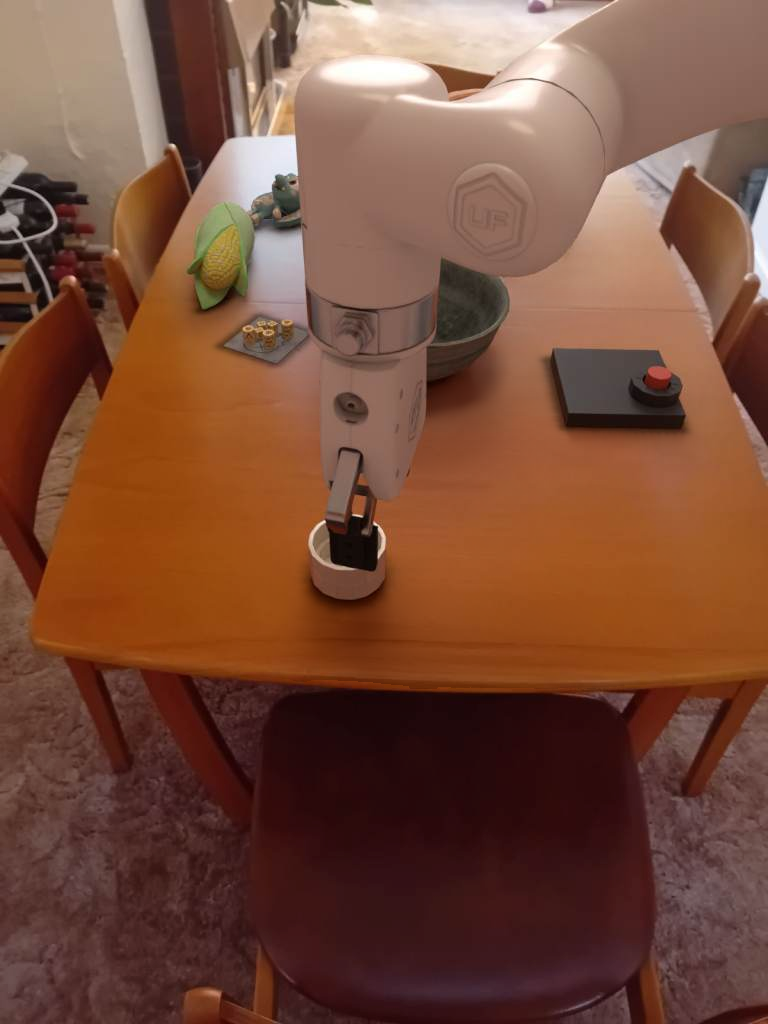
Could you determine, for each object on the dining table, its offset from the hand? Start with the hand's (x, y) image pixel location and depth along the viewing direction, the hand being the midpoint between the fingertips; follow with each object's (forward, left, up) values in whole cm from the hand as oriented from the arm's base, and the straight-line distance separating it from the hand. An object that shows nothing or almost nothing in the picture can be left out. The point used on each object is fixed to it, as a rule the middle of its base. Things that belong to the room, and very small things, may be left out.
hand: (372, 516), depth 57 cm
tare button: (-41, -21, -11) cm, 47 cm away
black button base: (-38, -24, -15) cm, 48 cm away
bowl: (-18, -37, -15) cm, 44 cm away
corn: (-1, -67, -15) cm, 68 cm away
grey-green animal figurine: (-12, -82, -15) cm, 85 cm away
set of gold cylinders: (-2, -48, -15) cm, 51 cm away
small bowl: (0, -7, -15) cm, 16 cm away
